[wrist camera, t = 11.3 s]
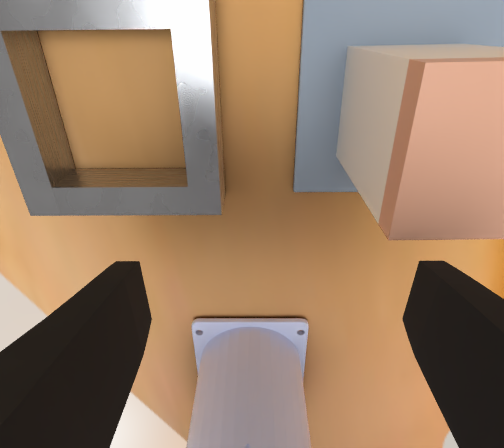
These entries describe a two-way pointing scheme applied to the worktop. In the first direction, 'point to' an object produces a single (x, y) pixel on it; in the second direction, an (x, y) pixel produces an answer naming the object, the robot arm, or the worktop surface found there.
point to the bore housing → (52, 130)
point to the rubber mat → (367, 34)
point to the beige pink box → (426, 138)
